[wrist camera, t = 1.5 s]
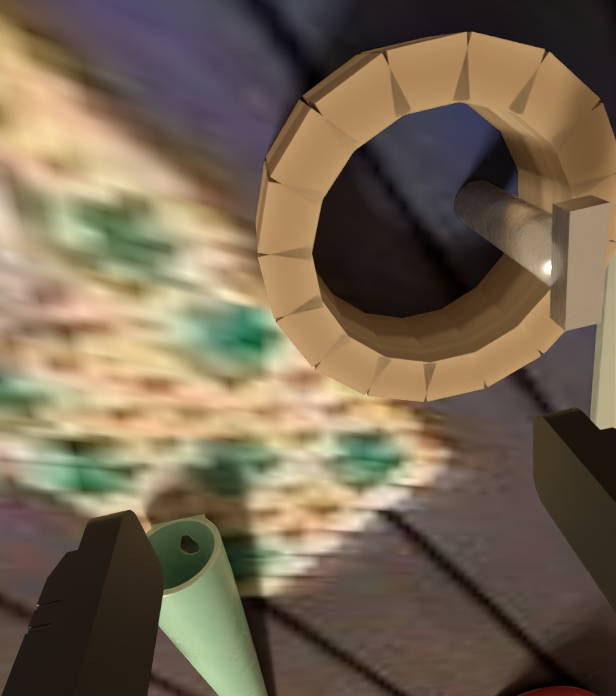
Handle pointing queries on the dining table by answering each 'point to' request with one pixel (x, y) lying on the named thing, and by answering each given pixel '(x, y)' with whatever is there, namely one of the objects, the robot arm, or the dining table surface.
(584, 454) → the robot arm
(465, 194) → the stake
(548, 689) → the plant pot
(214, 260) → the dining table surface
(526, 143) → the wooden ring
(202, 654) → the mint green cone
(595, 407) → the tray
